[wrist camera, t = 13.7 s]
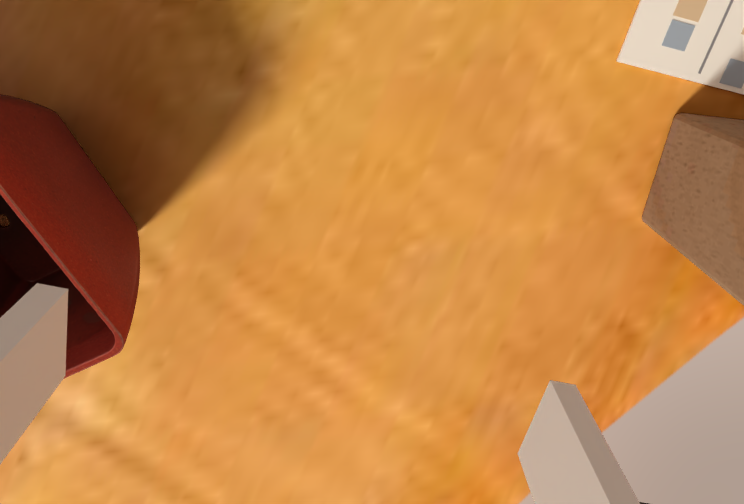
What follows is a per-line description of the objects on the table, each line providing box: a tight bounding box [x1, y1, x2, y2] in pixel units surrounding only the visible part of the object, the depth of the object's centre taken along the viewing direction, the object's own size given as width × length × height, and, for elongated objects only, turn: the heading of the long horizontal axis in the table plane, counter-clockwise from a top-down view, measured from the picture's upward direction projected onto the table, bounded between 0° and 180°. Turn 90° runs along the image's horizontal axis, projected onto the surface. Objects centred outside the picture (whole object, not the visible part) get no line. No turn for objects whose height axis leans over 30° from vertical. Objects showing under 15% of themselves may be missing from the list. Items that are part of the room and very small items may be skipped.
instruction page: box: [616, 0, 744, 95], centre depth 47 cm, size 10×14×1 cm
